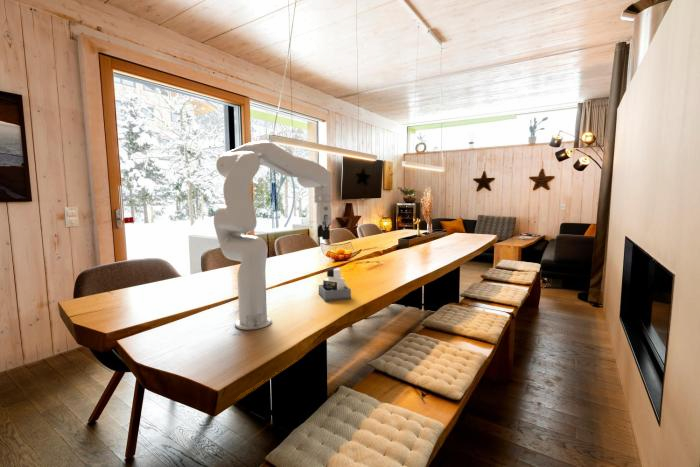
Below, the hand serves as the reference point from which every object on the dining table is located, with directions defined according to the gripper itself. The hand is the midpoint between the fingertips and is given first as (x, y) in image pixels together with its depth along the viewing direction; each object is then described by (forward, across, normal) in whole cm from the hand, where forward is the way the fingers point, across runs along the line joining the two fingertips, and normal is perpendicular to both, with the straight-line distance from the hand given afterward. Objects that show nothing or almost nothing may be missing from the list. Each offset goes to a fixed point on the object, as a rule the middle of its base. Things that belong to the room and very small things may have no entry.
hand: (323, 238), depth 155 cm
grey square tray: (+26, -2, -4) cm, 27 cm away
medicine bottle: (+26, -2, -4) cm, 26 cm away
